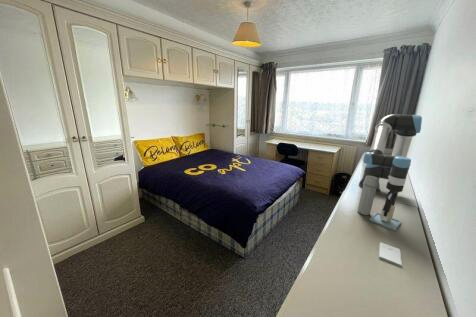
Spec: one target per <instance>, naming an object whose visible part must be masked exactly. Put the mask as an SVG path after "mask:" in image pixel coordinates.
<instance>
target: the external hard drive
mask: <svg viewBox="0 0 476 317" xmlns="http://www.w3.org/2000/svg"><path fill="white" fill-rule="evenodd" d="M378 248H379V249H378V251H379V252H378V253H379V254H378V259H379V260H383V261H385V262H387V263H390V264H392V265H395V266H398V267H399V268H402V267H403V262H402V253H401V249H400V248H397V247H395V246H392V245H389V244H386V243H384V242H381V241H380V242H379V247H378Z"/></svg>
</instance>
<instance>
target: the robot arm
mask: <svg viewBox="0 0 476 317" xmlns="http://www.w3.org/2000/svg"><path fill="white" fill-rule="evenodd" d="M422 122H423V118H422V116H421V115H420V114H419V115H417V114H402V113H401V114H400V113H399V114H398V113H391V114H388V115H386V116H383V117H382V118H381V119H378V121H377V123H376V124H375V127H374V129H375V133H374V136H373V139H372V142H371V145H370V146H371V147H370V149H369V152H368V151H367V152H365V153H364V156H363V164H365V166H364V170H363V175H362V178H361V179H360V181H359V182H358V186H359V187H360V188H361V189H362V188H363V182H364V180H365V177H366V176H374V177H377V178H378V184H377V185H378V187H377V189H376V192H378V191H380V188H381V185H380V179H383V180H387V182H386V186H385V188H386V189H387V190H389V191H387V195H386V198H385V201H384V202H385V203H384V204H385V205H384V204H383V205H384V209H383V208H382V209H381V211H382V210H383V215H382V219H381V220H384V221H386V222H387V220H388V216H389V213H390V212H389V211H390V208H391V205H393V206H394V207H395V204H396V202H397V201H396V200H397V197H398V195H399V193H402V192H403V190H404V187H405V185H406V184H405V183H406V181H407V176H408V173H409V169H410V167H411V162H412V159H411V158H409V157H407V155H408V153H409V149H410V147H411V142H412V140H413V137H416V135H417V134H419V133H421V130H422ZM391 131H394V134H395V135H396V138H395V142H394V145H393V149H392V153H391V155H389V154H388V155H387V154H385V149H386V145H387V141H388V138H389V134H390V133H391Z"/></svg>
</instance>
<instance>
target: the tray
mask: <svg viewBox="0 0 476 317" xmlns="http://www.w3.org/2000/svg"><path fill="white" fill-rule="evenodd" d="M380 216H381V213H380V212H378V211H376V212H374V214H373V215H372V216H371V217H369V219H368V221H369V222H372V223H375V224H377V225H379V226H381V227H384V228H386V229H388V230H391V231H394V232H396V231H397V229H398V228H399V227H400V225H401V224H402V221H401V220H398V219H396V218H393V217H392V220H391V221H390V222H388V221H387V222H386V221H384V220H381V218H380Z"/></svg>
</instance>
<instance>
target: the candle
mask: <svg viewBox="0 0 476 317" xmlns="http://www.w3.org/2000/svg"><path fill="white" fill-rule="evenodd" d="M384 205H385V203H384V204H383V205H382V209H384ZM382 209H381V216H380V218H381V219H382V215H383V210H382ZM395 210H396V207H395V205H394V206H393V205H391V208H390V211H389V212H390V213H389V216H388V220H387V221H388V222H390V221H391V220H392V218H393V217H394V212H395Z"/></svg>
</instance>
